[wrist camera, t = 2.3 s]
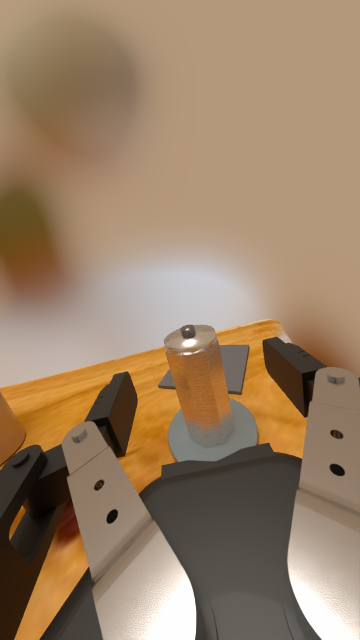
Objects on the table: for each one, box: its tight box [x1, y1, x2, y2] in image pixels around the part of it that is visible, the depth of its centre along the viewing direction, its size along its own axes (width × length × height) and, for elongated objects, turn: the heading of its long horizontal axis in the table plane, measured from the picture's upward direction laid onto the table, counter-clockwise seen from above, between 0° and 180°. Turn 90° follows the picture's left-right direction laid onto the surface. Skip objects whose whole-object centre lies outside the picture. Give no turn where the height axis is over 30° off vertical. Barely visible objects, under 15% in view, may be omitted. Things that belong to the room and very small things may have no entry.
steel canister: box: [164, 325, 235, 449], centre depth 25 cm, size 6×6×15 cm
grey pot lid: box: [168, 398, 258, 462], centre depth 28 cm, size 12×12×3 cm
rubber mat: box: [158, 345, 249, 395], centre depth 44 cm, size 16×16×1 cm
